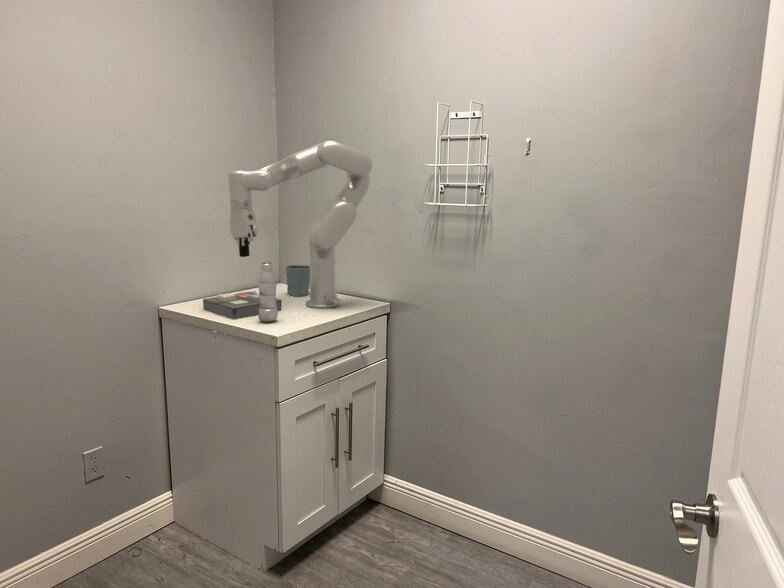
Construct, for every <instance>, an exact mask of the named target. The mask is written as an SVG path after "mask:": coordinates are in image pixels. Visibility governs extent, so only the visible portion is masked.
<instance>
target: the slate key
mask: <svg viewBox="0 0 784 588" xmlns="http://www.w3.org/2000/svg"><path fill="white" fill-rule="evenodd" d="M248 300H250V301H254V302H259V301H260V294H259V293H257V294H254V295H248Z"/></svg>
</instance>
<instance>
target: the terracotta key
mask: <svg viewBox="0 0 784 588" xmlns="http://www.w3.org/2000/svg"><path fill="white" fill-rule="evenodd" d="M248 295H251V294H241V295H236V297H239V298H243V299H244V298H248Z"/></svg>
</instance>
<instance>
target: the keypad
mask: <svg viewBox="0 0 784 588" xmlns="http://www.w3.org/2000/svg"><path fill="white" fill-rule="evenodd" d="M232 294H233V295H241V294H251V295H254V294H258V293H256V292H254V291H246V292H240V293H239V292H238V293H232ZM237 300H243V301H247V302H249V303H247V304H242V305H233V304H230V303H229V302H231V301H237ZM231 301H225V302H223V301H220V300H217V296H214V297H208V298H203V299H202V305H203V307H202V308H203V311H206V312H209V313H213V314H215V315H219V316H221V315H222V316H221V317H224V316H225V318H227V317H228V318H227V319H230V318H232V319H231V320H233V319H234V320H238V319H237V318H240V319H244V318H243V317H245V318H249V317H248V316H250V317H254V315H255V316H258V310H259V302H254V301H250V300H248V298H244V299H243V298H239V297H236V300H231ZM276 307H277V311H278V312H281V311H282V310H283V309H282V307H283V306H282V299H281V298H276Z"/></svg>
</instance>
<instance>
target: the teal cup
mask: <svg viewBox="0 0 784 588" xmlns="http://www.w3.org/2000/svg"><path fill="white" fill-rule="evenodd" d="M285 274H286V275H285V276H286V285H287V286H286V287H287V296H288V295H289V296H288V297H291V296H293V297H292V298H303V296H305V297H308V296H309V295H310V265H308V264H307V265H306V264H289V265H286V266H285ZM307 295H308V296H307Z"/></svg>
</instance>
